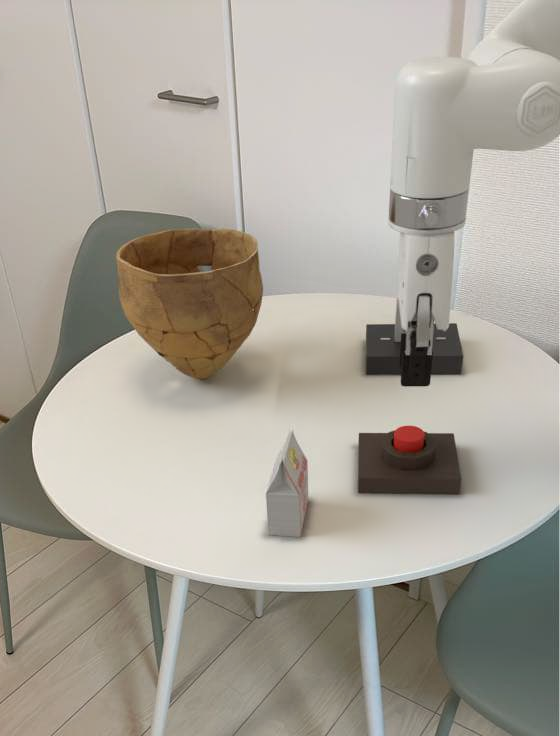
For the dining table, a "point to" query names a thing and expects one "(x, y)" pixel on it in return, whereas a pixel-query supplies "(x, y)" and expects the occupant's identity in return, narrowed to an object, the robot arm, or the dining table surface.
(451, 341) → the black flat block
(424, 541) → the dining table surface
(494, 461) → the dining table surface
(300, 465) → the milk carton
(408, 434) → the power button
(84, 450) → the dining table surface
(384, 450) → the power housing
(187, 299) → the bowl
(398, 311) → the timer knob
